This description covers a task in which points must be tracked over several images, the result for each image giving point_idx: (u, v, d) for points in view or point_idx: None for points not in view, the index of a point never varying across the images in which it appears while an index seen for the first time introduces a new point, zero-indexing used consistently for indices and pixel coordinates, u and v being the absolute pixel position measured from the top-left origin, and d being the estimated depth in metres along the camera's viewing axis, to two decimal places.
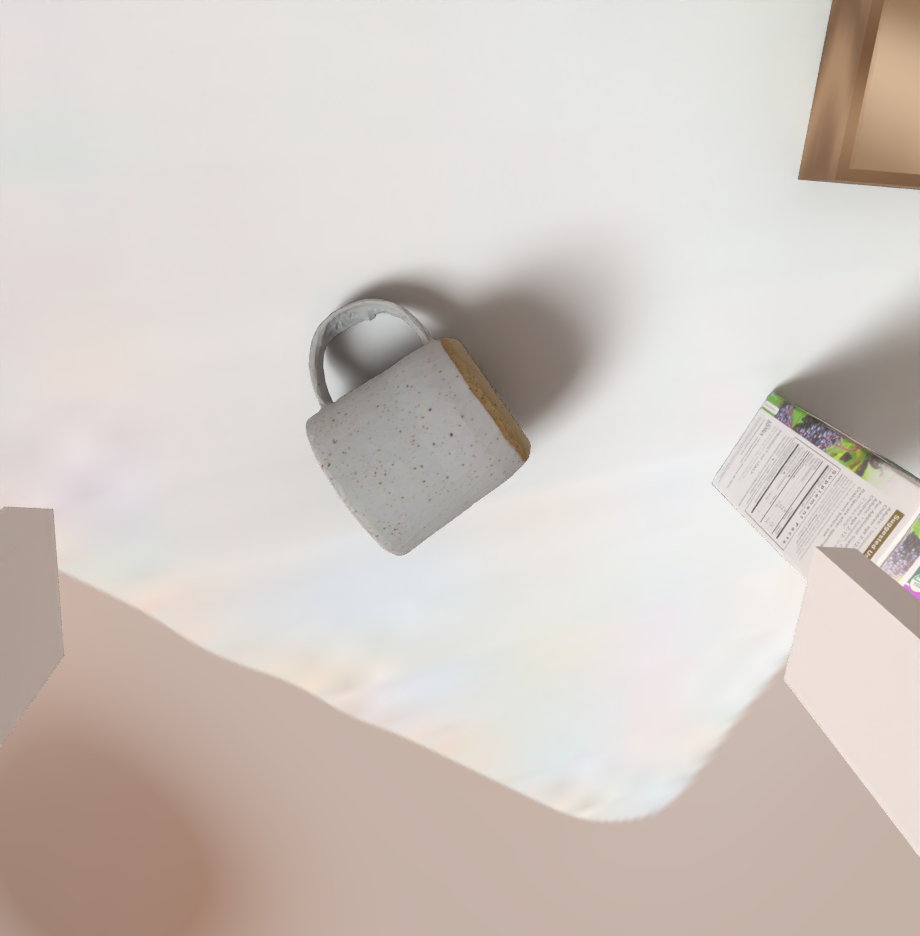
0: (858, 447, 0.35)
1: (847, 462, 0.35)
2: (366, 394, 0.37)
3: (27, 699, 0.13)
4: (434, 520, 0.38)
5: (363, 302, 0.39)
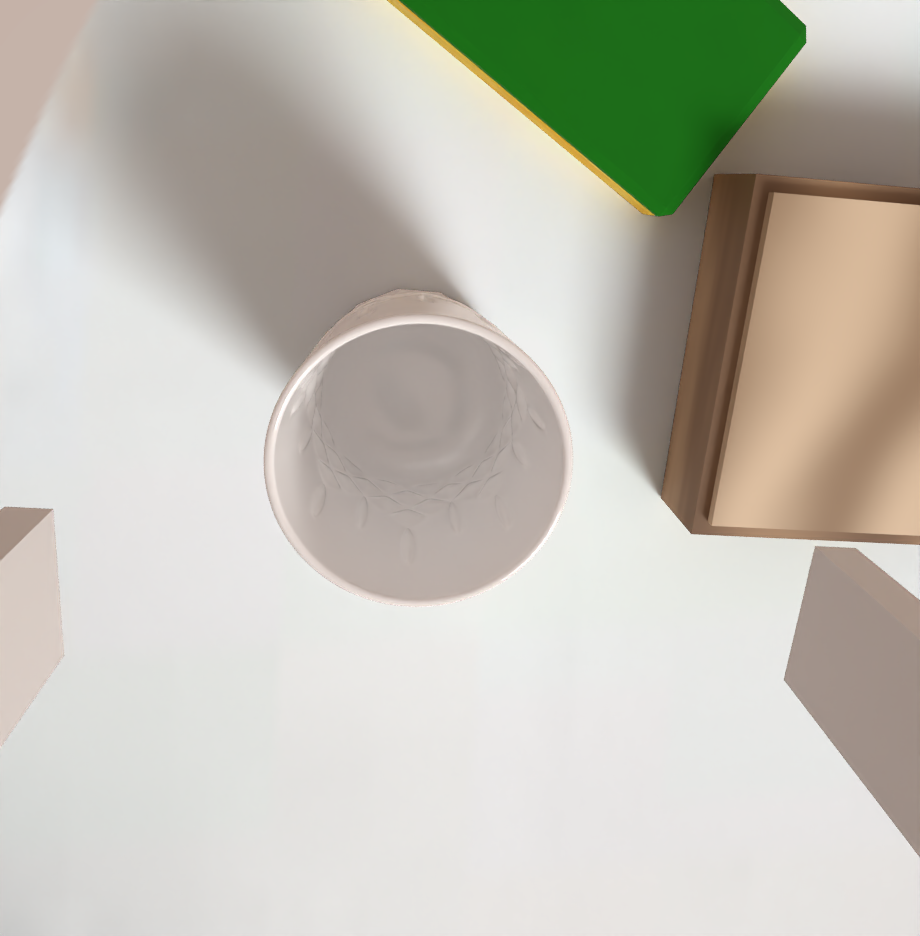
0: None
1: None
2: None
3: (27, 699, 0.13)
4: None
5: None
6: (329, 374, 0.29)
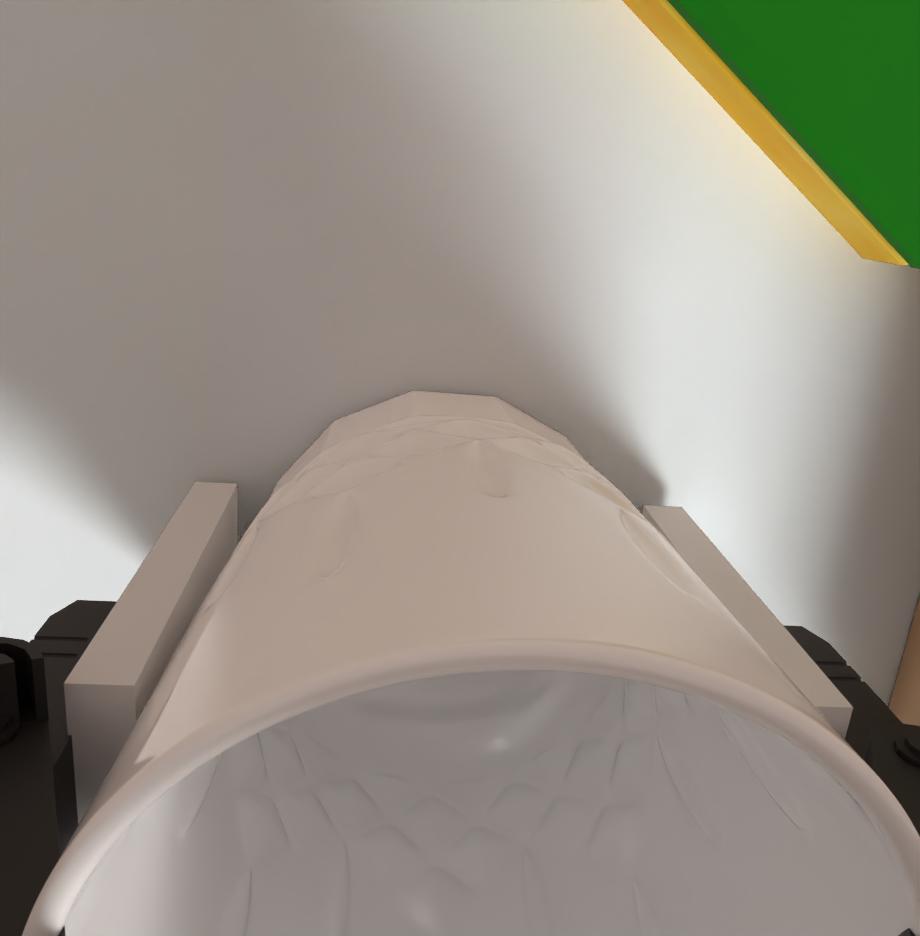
0: None
1: None
2: None
3: None
4: None
5: None
6: None
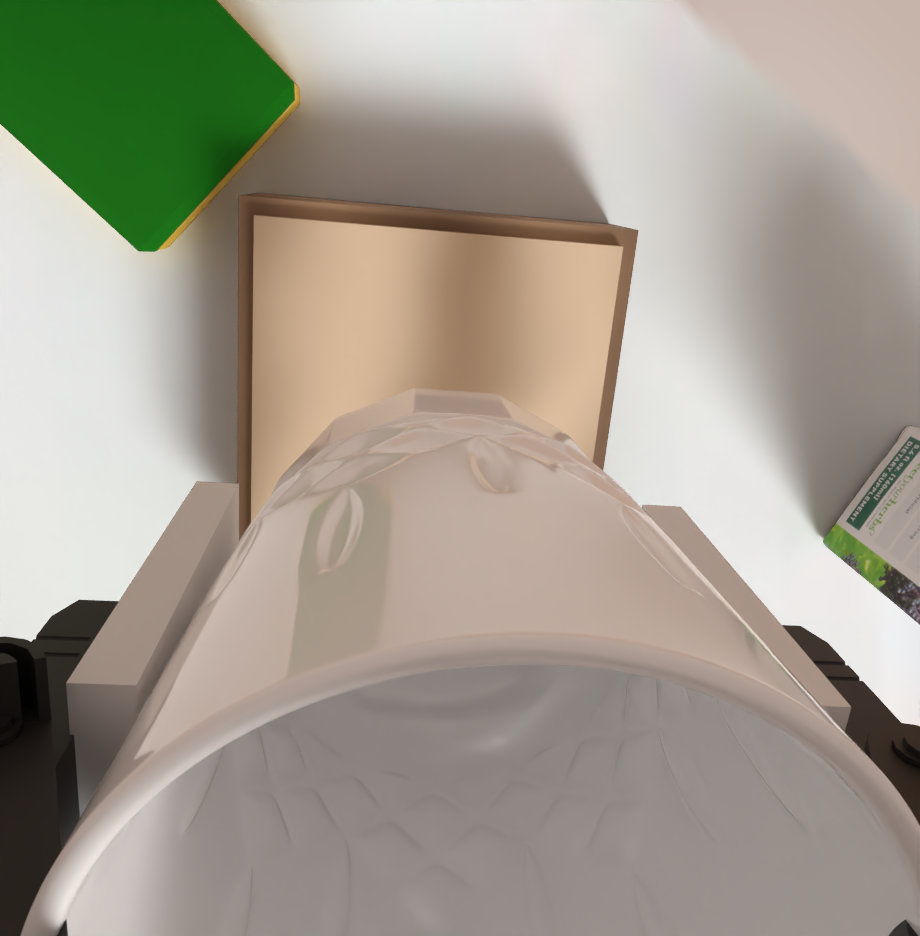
0: None
1: None
2: None
3: None
4: None
5: None
6: None
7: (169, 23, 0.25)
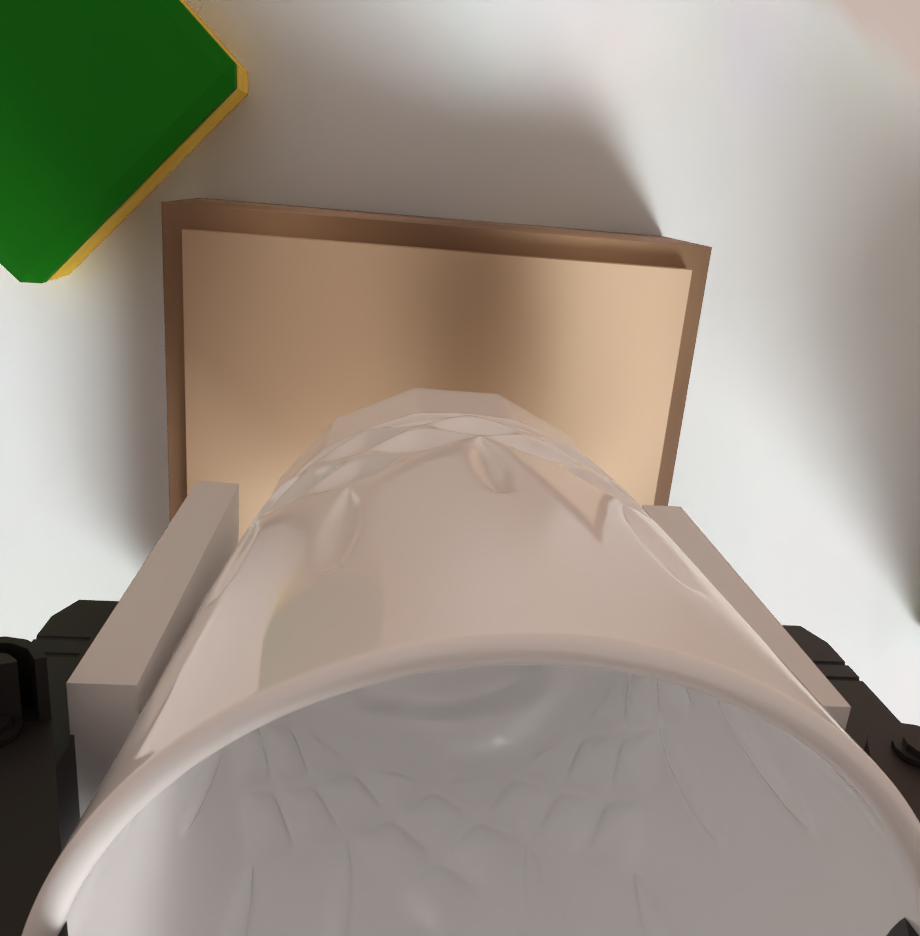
0: None
1: None
2: None
3: None
4: None
5: None
6: None
7: None
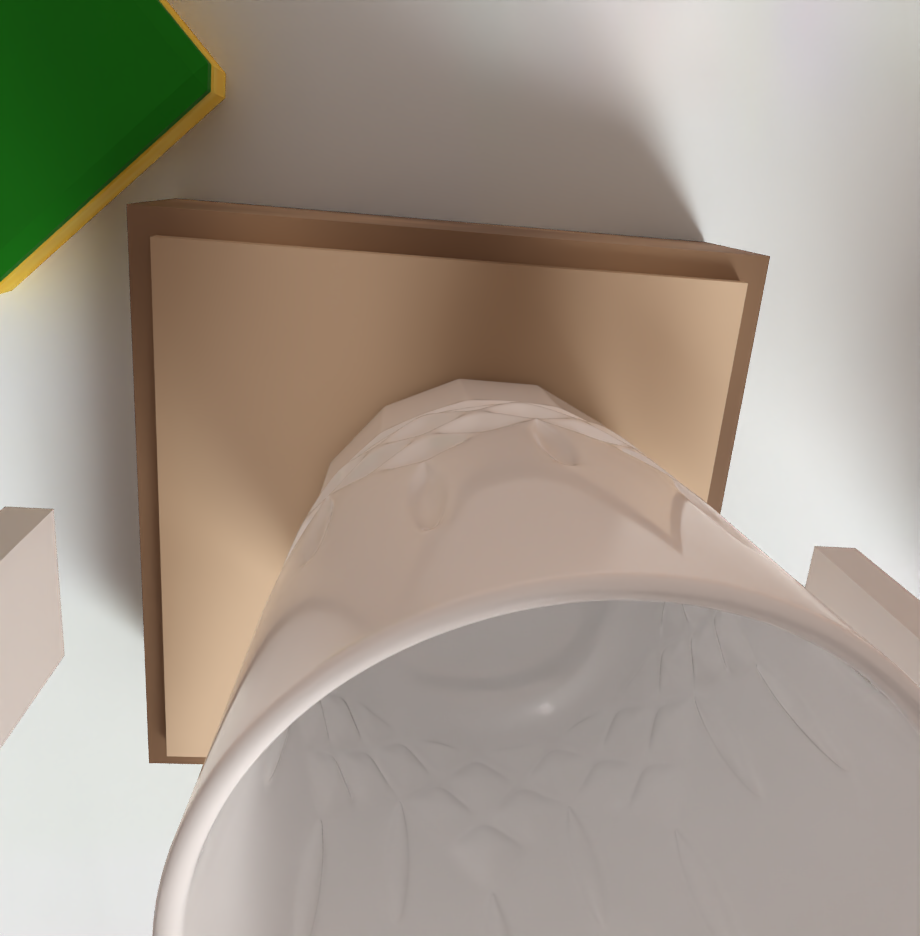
0: None
1: None
2: None
3: (27, 699, 0.13)
4: None
5: None
6: None
7: None
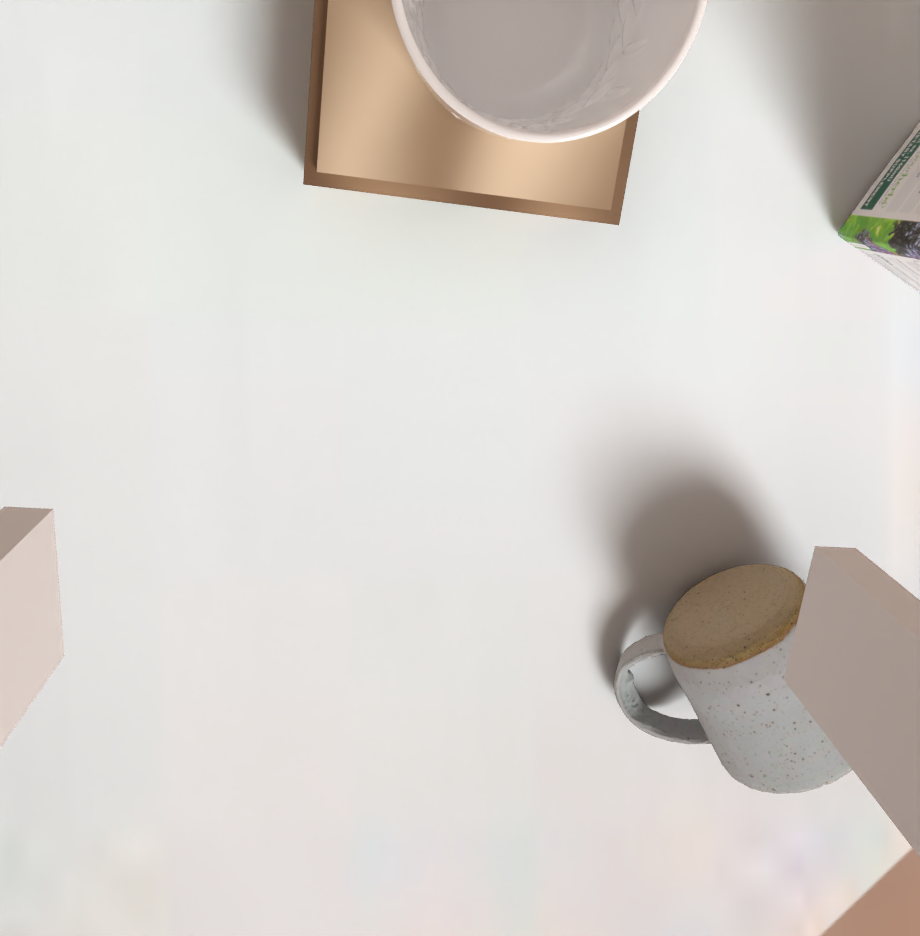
0: None
1: None
2: (709, 730, 0.39)
3: (27, 699, 0.13)
4: None
5: (617, 688, 0.42)
6: None
7: None
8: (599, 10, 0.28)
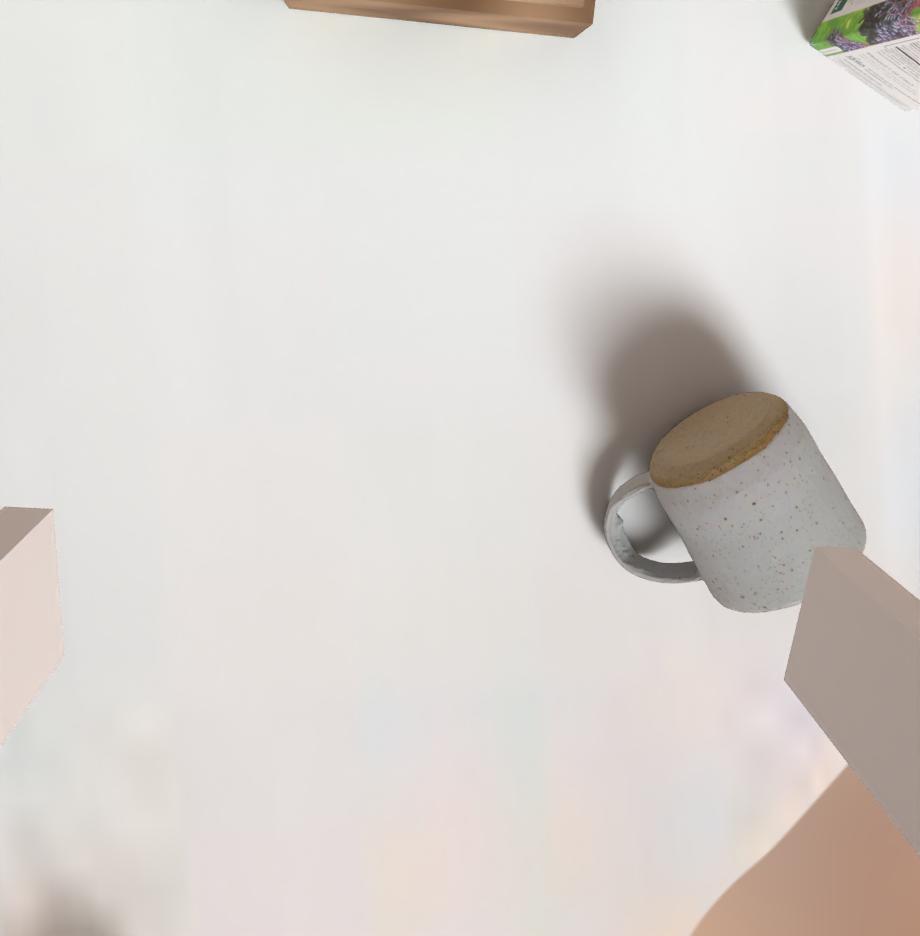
0: None
1: None
2: (698, 557, 0.40)
3: (27, 699, 0.13)
4: (837, 512, 0.37)
5: (607, 531, 0.43)
6: None
7: None
8: None
